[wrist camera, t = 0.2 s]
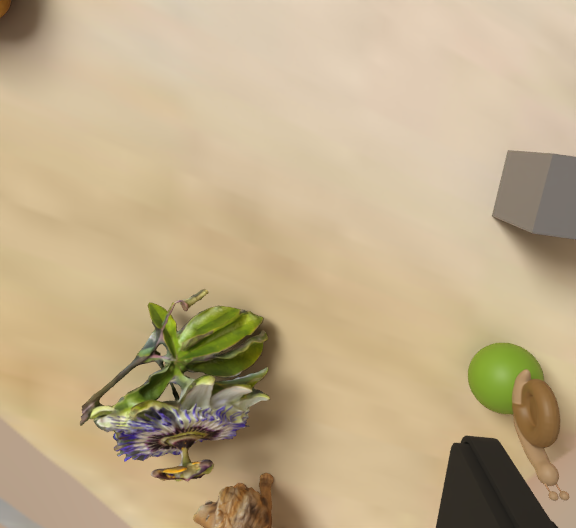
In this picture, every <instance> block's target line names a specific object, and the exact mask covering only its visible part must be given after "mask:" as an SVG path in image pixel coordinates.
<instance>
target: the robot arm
mask: <svg viewBox="0 0 576 528" xmlns="http://www.w3.org/2000/svg"><path fill="white" fill-rule="evenodd" d="M436 528H558V527H557V526H556V525H555V524H554V522H552V521H551V520H550V519H549V517H548V516H547V514H546V513H545V511H544V509H543V508H542V507H541V505H540V503H539V502H538V501H537V499H536V497H535V496H534V494H533V492H532V491H531V489H530V488H529V486H528V485H527V483H526V482H525V480H524V479H523V477H522V476H521V474H520V472H519V471H518V469H517V468H516V466H515V465H514V463H513V462H512V460H511V459H510V457H509V456H508V454H507V452H506V451H505V449H504V448H503V446H502V445H501V443H500V442H499V441H498V440H497V439H495V438H485V437H474V436H465V437H463V439H462V441H461V443H454V444H453V445H452V447H451V451H450V456H449V461H448V467H447V472H446V477H445V482H444V488H443V493H442V498H441V504H440V509H439V514H438V519H437V525H436Z"/></svg>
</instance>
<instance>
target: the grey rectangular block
mask: <svg viewBox="0 0 576 528" xmlns="http://www.w3.org/2000/svg"><path fill="white" fill-rule="evenodd" d="M492 216H493V217H495V218H498V219H500V220H502V221H505V222H507V223H509V224H512V225H514V226H516V227H519V228H521V229H523V230H525V231H528V232H530V233H534V234H541V235H548V236H555V237H562V238H569V239H576V157H573V156H566V155H558V154H550V153H536V152H523V151H509V150H508V152H507V156H506V161H505V165H504V169H503V173H502V177H501V181H500V185H499V189H498V194H497V198H496V202H495V206H494V210H493V214H492Z"/></svg>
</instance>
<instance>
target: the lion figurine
mask: <svg viewBox="0 0 576 528" xmlns="http://www.w3.org/2000/svg"><path fill="white" fill-rule="evenodd" d="M272 483H273V476H272V475H270V474H268V473H264V474H262V475H261V476H260V483H259V487H260V491H261V495H260V493H259V492H256V491H255V490H254V489H253V488H252V487H251V488H246V486H245V485H244V484H242V483H238V484H237V485H235V486H234V487H233V486H230V487H226V488H225V489H222V490H221V491H220V493H219V498H218V501H217V502H216V503H215V502H212V501H207V502H206V503H205V505H202V506H200V508H199V509H198V511H197V513H196V514H195V515H194V517H193V520H194V521H195V522H196V523H198V524H200V525H201V526H203V527H204V528H271V525H272V516H271V508H272V501H271V485H272Z"/></svg>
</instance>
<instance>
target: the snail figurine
mask: <svg viewBox="0 0 576 528" xmlns="http://www.w3.org/2000/svg"><path fill="white" fill-rule="evenodd" d="M468 382H469V386H470V389H471V391H472V393H473V394H474V396H475V397H476V399H477V400H478V401H479V402H480V403H481V404H482V405H484V406H485V407H486V408H488V409H490V410H492V411H494V412H497V413H501V414H514V424H515V428H516V431H517V434H518V436H519V439H520V442H521V444H522V447H523V449H524V451H525V453H526V455H527V457H528V459H529V461H530V462H531V464H532V465H533V466H534V468H535V470H536V473H537V477H538V479H539V480H540V481H541V482H542V483H543V484H545V486H546V487H547V489H548V491H549V492H550V493H549V498H550V499H551V500H553V501H556V500H557V499H558V495H557V493H556V492H553V491H552V492H551V491H550V490H549V488H548V486H553V485H556V486H557V488H558V489H559V487H558V485H557V481H558V479H559V474H558V471H557V469H556V468H555V466H554V465H553V464H551V463H550V461H549V459H548V456H547V454H546V452H545V450H544V448H545V447H549V446H551V445H552V444H553V443H554V442H555V441H556V439H557V437H558V434H559V429H560V414H559V408H558V404H557V401H556V398H555V395H554V393H553V391H552V390H551V388H550V387H549V386H548V384H547V383H545V382H544V376H543V372H542V369H541V367H540V365H539V363H538V361H537V360H536V359H535V358H534V356H533V355H532V354H530V353H529V352H528V351H527V350H525V349H523V348H522V347H520V346H517V345H514V344H510V343H495V344H491V345H489V346H486V347H484V348H483V349H481V350H480V351H479V352H478V353H477V354H476V355H475V356H474V357H473V359H472V361H471V363H470V365H469V369H468ZM559 491H560V494H559V496H560V498H561V499H562V500H568V499H569V494H568V493H567V492H565V491H561V490H560V489H559Z"/></svg>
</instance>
